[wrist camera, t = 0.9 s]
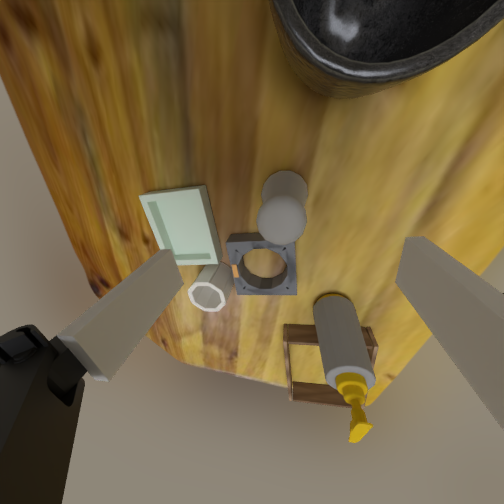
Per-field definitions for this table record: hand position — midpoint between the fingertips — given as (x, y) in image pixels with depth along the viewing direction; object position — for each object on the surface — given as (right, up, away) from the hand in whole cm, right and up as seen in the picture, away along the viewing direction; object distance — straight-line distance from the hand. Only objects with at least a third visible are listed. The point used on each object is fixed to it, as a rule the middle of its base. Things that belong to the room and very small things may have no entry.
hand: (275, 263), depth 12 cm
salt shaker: (+3, +9, +16) cm, 19 cm away
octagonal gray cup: (-8, -4, +25) cm, 26 cm away
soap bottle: (+13, -9, +24) cm, 29 cm away
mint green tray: (-12, +5, +21) cm, 25 cm away
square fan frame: (+1, -1, +22) cm, 22 cm away
